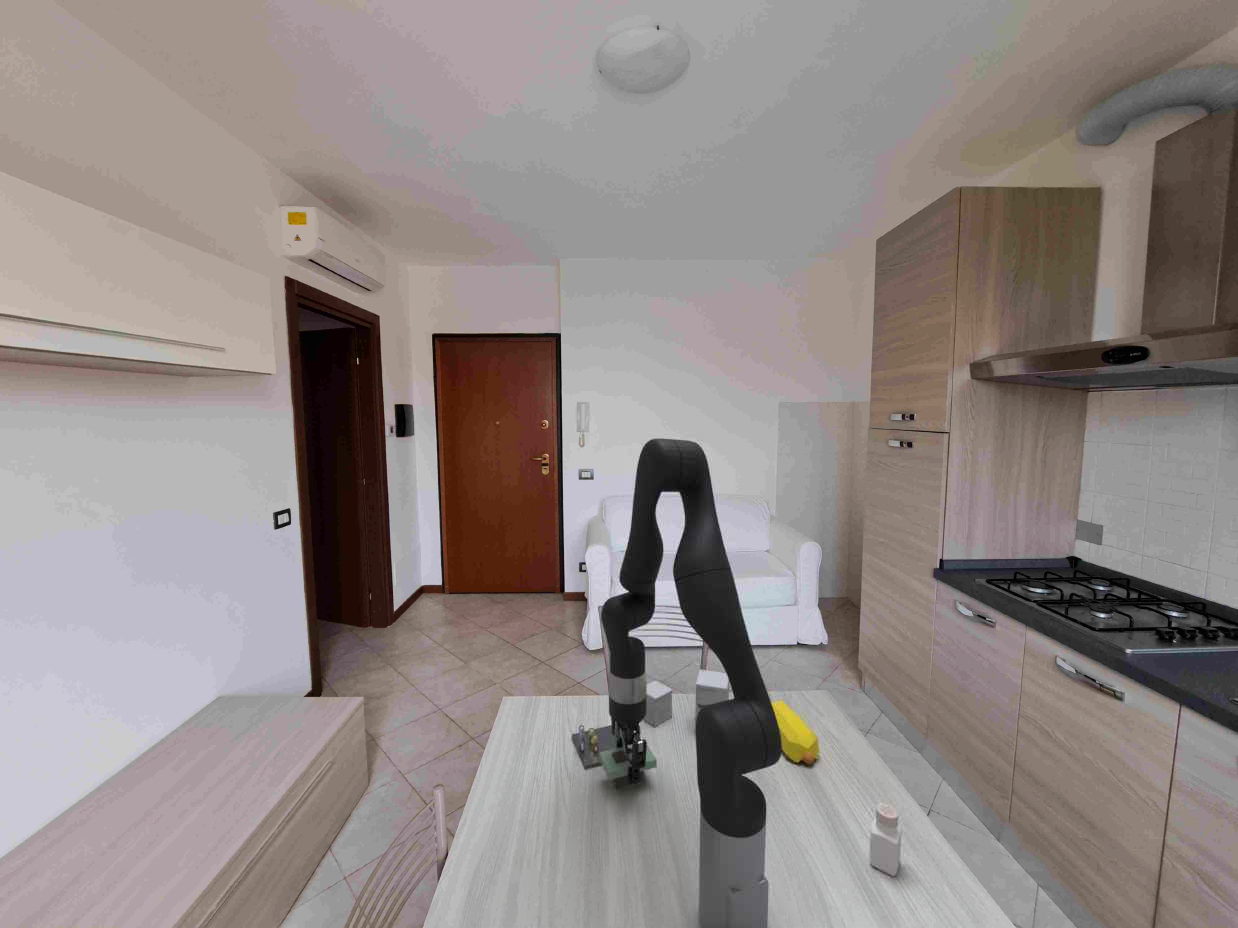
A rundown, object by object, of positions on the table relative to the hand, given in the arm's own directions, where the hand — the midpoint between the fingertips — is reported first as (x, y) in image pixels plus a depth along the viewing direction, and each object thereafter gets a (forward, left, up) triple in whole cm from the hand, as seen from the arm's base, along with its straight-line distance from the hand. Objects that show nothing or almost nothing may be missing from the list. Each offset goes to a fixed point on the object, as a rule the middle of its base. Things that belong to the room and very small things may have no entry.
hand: (627, 770), depth 100 cm
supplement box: (+9, -25, -3) cm, 27 cm away
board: (0, 0, +2) cm, 2 cm away
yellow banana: (-1, -39, -3) cm, 39 cm away
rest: (0, 0, -3) cm, 3 cm away
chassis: (+12, 0, -3) cm, 12 cm away
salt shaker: (-32, -33, -3) cm, 46 cm away
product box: (+18, -14, -3) cm, 23 cm away
